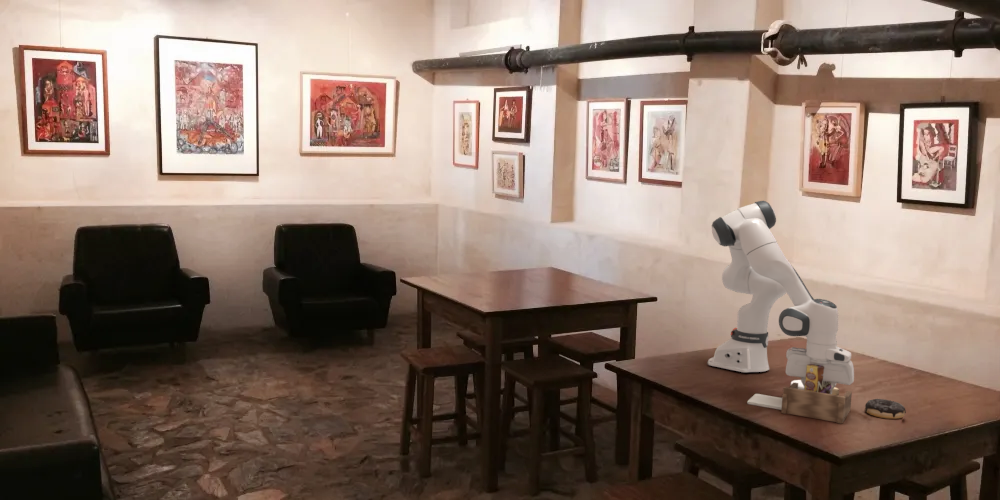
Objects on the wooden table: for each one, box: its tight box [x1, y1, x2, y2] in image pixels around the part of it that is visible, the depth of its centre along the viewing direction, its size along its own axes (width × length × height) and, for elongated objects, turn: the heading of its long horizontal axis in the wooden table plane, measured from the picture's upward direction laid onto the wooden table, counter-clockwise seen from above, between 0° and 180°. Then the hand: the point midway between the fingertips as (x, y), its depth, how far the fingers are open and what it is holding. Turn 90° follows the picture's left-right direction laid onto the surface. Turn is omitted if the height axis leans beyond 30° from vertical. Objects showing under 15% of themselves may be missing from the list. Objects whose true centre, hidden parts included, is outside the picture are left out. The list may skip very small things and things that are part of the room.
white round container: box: [790, 379, 804, 390], centre depth 282 cm, size 10×10×4 cm
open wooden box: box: [780, 383, 853, 425], centre depth 261 cm, size 18×17×8 cm
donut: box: [864, 398, 907, 420], centre depth 260 cm, size 11×12×4 cm
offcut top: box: [832, 386, 840, 396], centre depth 269 cm, size 9×5×2 cm, turn 93°
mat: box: [746, 393, 782, 411], centre depth 269 cm, size 11×11×1 cm
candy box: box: [805, 364, 832, 393], centre depth 261 cm, size 9×4×15 cm, turn 125°
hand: (817, 393), depth 261 cm, fingers closed on candy box, 5 cm apart
